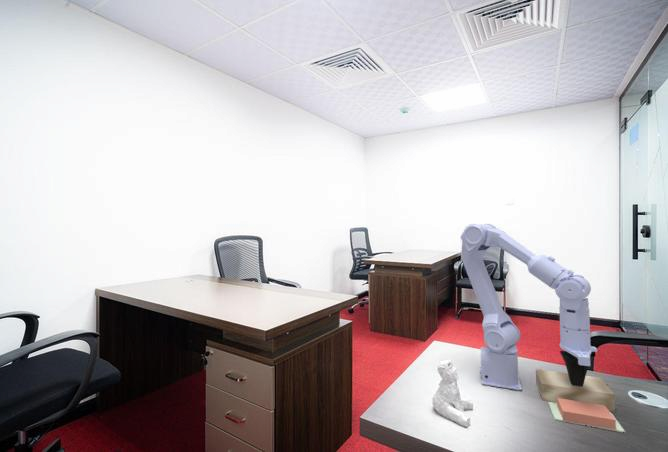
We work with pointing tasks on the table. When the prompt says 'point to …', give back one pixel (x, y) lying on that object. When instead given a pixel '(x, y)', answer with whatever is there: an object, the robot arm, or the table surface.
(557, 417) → the mat
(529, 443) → the table surface
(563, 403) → the salmon pink block
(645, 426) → the table surface
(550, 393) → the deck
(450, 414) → the seated beast figurine
